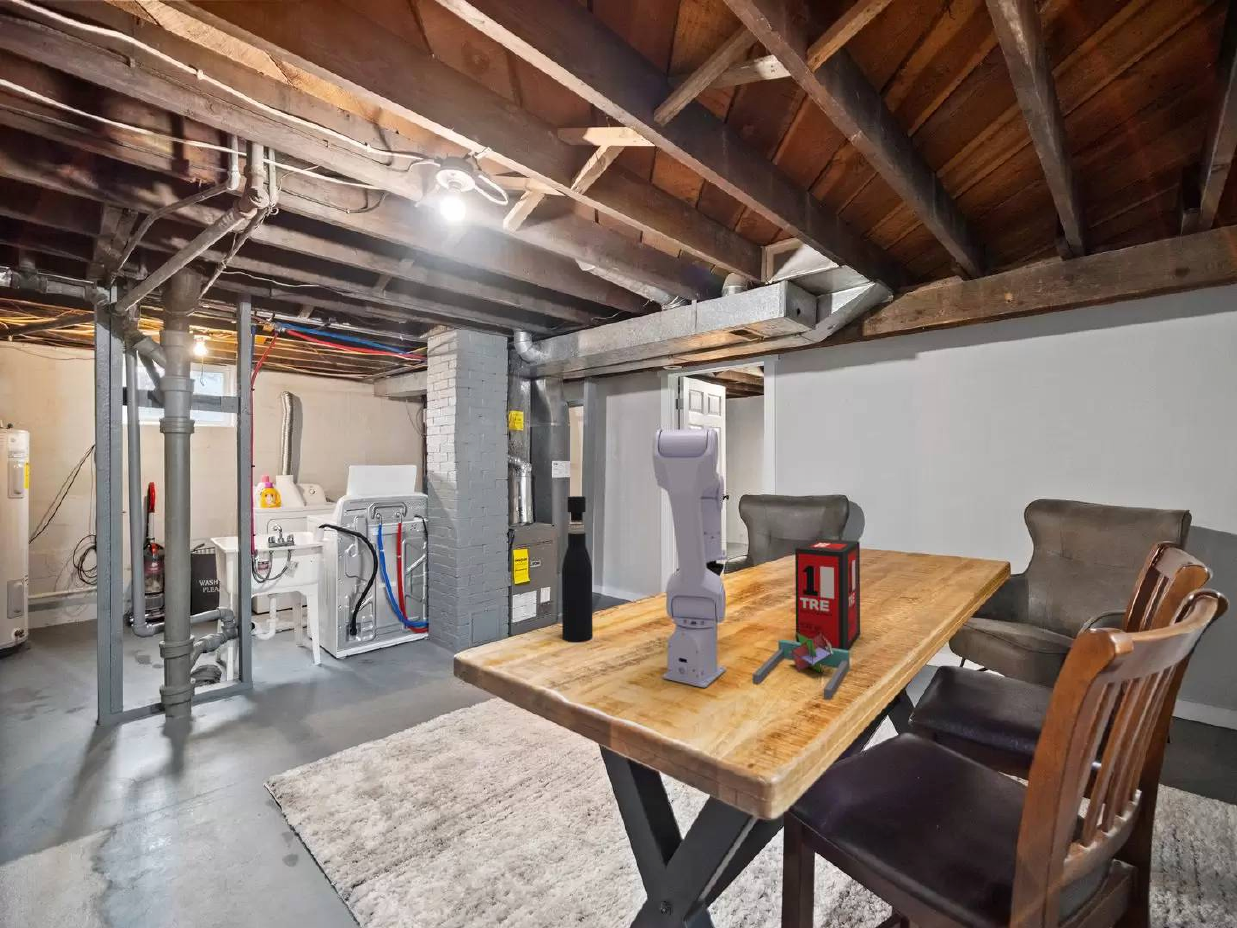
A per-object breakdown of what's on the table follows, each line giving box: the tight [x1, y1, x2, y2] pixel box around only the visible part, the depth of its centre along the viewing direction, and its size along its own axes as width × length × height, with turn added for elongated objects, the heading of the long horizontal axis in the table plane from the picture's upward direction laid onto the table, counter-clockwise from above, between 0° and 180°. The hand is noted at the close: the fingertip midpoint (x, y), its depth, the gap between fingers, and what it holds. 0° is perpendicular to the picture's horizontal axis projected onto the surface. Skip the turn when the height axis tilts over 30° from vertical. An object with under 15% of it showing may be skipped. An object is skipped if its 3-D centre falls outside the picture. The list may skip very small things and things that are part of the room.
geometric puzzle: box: [789, 631, 833, 675], centre depth 98 cm, size 7×7×8 cm
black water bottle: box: [561, 495, 593, 643], centre depth 117 cm, size 6×6×30 cm
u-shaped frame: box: [752, 638, 851, 701], centre depth 96 cm, size 16×12×3 cm
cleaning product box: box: [794, 538, 861, 651], centre depth 113 cm, size 16×9×20 cm, turn 146°
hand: (707, 600), depth 111 cm, fingers closed
